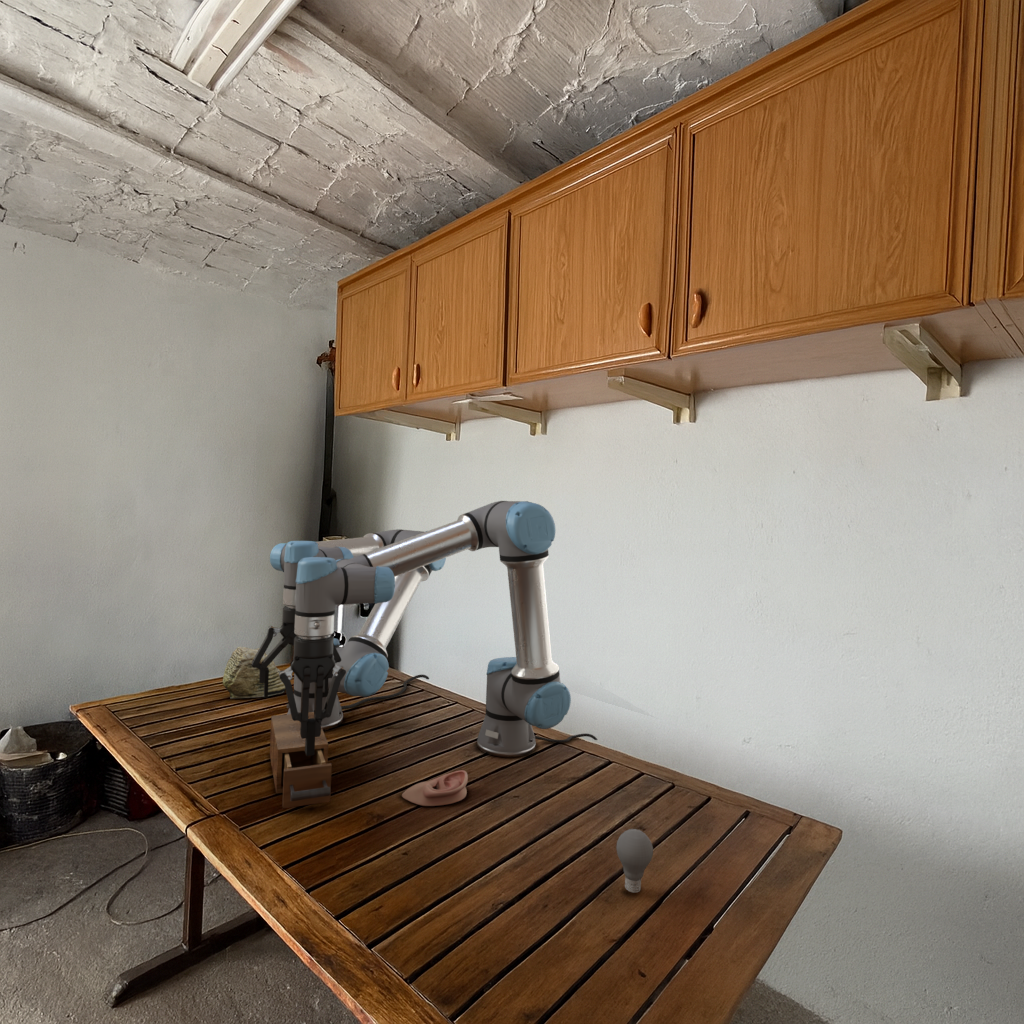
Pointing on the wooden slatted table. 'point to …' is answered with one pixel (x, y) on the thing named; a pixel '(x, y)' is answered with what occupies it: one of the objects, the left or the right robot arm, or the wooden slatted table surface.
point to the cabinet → (289, 743)
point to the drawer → (305, 779)
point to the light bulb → (634, 857)
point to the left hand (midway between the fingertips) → (296, 693)
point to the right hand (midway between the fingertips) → (309, 752)
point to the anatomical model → (439, 790)
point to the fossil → (249, 676)
